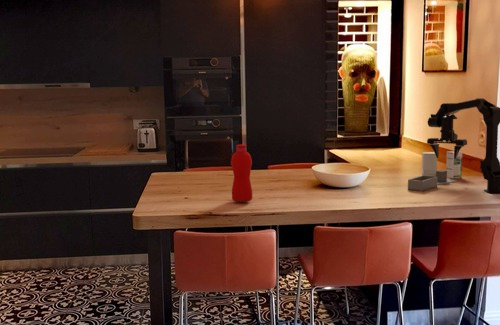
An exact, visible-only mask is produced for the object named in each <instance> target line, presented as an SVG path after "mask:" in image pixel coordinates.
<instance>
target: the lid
mask: <svg viewBox="0 0 500 325" xmlns="http://www.w3.org/2000/svg"><path fill="white" fill-rule="evenodd" d="M435 177H437V186H441V185H446V184H453V183H457V182H458V180H455V179H450V178H448V177H447V171H446V169H445V170H444V169H442V170H437V171H436V176H435Z"/></svg>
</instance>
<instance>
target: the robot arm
mask: <svg viewBox="0 0 500 325" xmlns="http://www.w3.org/2000/svg"><path fill="white" fill-rule="evenodd" d="M475 108H476V109H477V110H478V112H479V113H480V114H481V115H482V119H483V122H484V124H485V126H486V130H485V132H486V133H485V135H486V136H485V155H484V156H485V157H484V159H481V160H480V162H479V163H480V167H479V169H480V172H481V173H482V176H483V179H484V180H485V181H487V182H486V184H487V185H486V189H483V191H484V192H486V193H488V194H500V159H499V158H498V141H499V140H498V139H499V138H498V137H499V136H498V135H499V134H498V133H499V125H500V107H499V106H497V105H495V104H493V103H491V102H489V101H488V100H486V98H483V97H481V98H479V97H477V98H475V99H471V100H465V101H462V102H446V103H441V104H440V106H439V109H438V110H437V111H436V113H431V114H430V116H429V117H428V119H427V125H428V127H430V128H439V129H440V128H441V129H440V130H439V133H440V138H439V137H430V138H429V137H428V138H427V140H426V144H427V145H429V146H430V147H431V148H432V150H433V152H435V155H436V157H437V159H438V158H439V155H440V154H439V148H440V144H453V145H454V147H453V151H454V159H456V158H457V155H458V153H459V151H461V149H462V148H463V147H465V146H467V145H468V140H467V139H466V138H464V139H463V138H458V137H459V135H458V134H457V133H455V129H454V120H457V119H458V117H457V116H456V113H459V112H460V111H464V110H469V109H475Z"/></svg>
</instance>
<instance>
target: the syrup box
mask: <svg viewBox="0 0 500 325" xmlns="http://www.w3.org/2000/svg"><path fill="white" fill-rule="evenodd" d="M445 171H447V179H451V178H452V179H451V180H455V179H462V178H463V176H462V174H463V173H462V172H463V151H461V150H460V151H459V153H458V155H457V158H456V159H454V150H449V151H446V169H445ZM454 178H455V179H454Z"/></svg>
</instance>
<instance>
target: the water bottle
mask: <svg viewBox="0 0 500 325" xmlns="http://www.w3.org/2000/svg"><path fill="white" fill-rule="evenodd" d="M235 148H236V151H235V152H234V153H233V154H232V156H231V162H230V164H231V168H232V174H233V180H232V181H233V182H232V187H231V199H232V201H233V202H236V203H237V202H250V201H253V187H252V184H251V179H250V178H251V171H252V164H253V161H252V155H251V154H250V153H249V152H248V151H247V145H246V144H236V147H235Z"/></svg>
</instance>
